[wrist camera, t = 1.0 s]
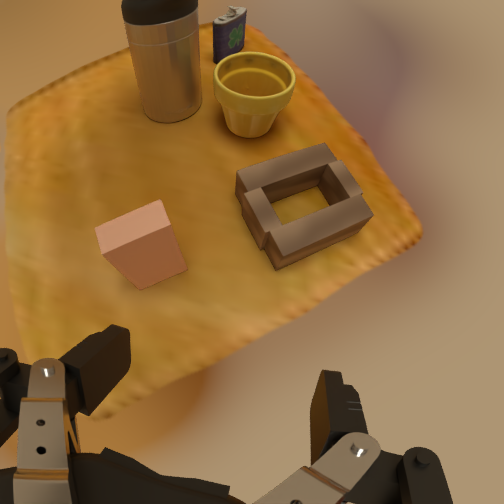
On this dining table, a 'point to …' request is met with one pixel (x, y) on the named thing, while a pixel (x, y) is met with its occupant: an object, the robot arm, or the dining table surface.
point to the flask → (229, 33)
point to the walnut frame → (294, 181)
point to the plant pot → (252, 91)
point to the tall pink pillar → (142, 245)
